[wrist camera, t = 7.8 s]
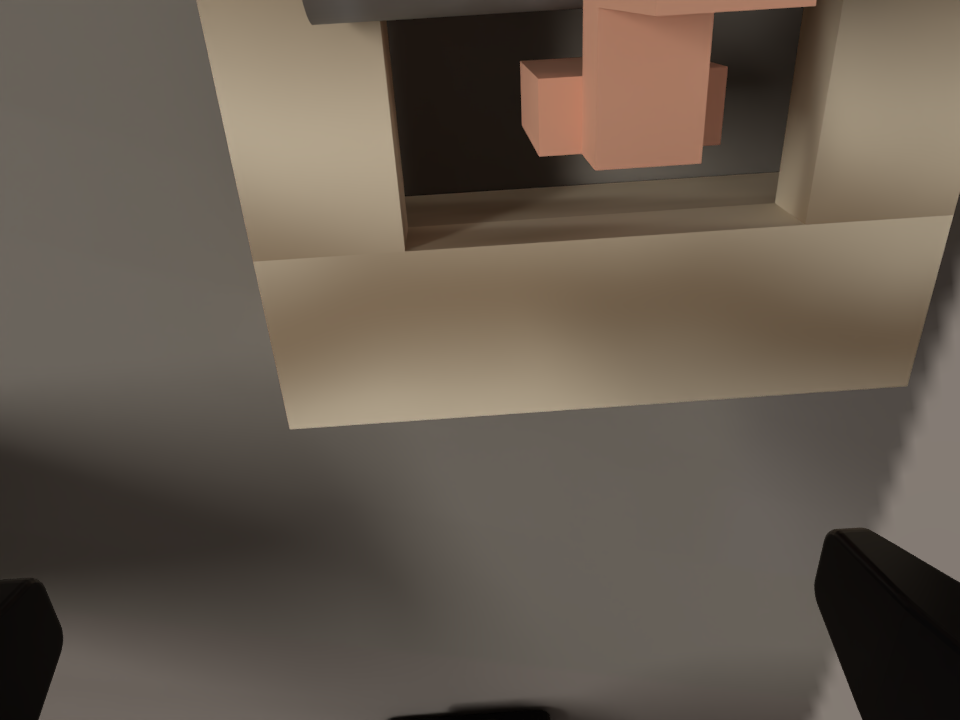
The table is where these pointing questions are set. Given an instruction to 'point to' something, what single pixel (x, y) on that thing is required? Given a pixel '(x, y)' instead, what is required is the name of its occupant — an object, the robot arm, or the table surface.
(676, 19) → the tee shaped peg
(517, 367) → the frame with crossbar
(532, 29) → the table surface
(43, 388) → the table surface
